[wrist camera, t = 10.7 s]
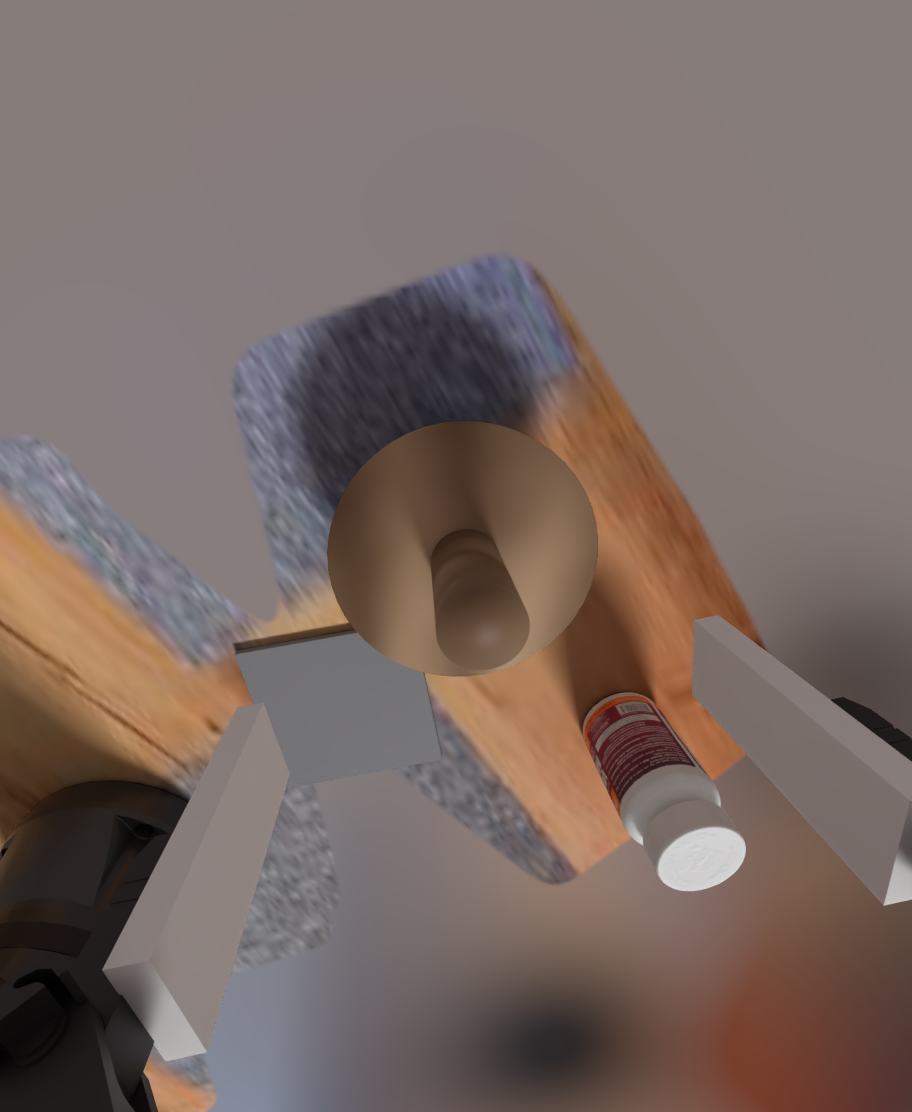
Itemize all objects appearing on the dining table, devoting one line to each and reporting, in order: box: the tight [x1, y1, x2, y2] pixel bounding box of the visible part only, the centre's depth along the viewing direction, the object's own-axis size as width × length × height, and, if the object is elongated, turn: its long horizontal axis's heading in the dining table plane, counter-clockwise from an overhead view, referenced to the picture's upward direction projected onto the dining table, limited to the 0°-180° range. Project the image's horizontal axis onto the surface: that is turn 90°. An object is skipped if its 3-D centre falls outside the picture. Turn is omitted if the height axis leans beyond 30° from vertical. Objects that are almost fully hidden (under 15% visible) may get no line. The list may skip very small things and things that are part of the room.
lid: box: [327, 421, 598, 676], centre depth 22 cm, size 14×14×8 cm
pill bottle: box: [583, 692, 746, 891], centre depth 32 cm, size 6×6×11 cm
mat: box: [235, 630, 442, 788], centre depth 34 cm, size 12×12×1 cm
